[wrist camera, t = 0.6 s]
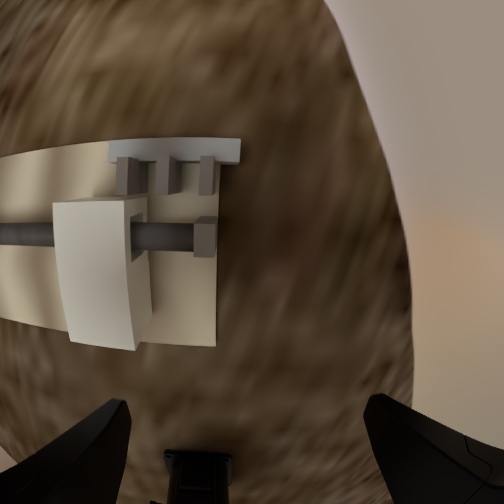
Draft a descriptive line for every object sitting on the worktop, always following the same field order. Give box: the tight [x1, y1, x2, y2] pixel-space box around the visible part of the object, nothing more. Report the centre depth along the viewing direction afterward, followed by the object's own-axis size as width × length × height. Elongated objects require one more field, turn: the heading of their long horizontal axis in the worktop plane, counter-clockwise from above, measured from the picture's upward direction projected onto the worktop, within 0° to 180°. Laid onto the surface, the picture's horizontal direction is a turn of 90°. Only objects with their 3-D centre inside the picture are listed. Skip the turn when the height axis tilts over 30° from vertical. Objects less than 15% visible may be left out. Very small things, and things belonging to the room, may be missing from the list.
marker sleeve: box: [53, 196, 153, 351], centre depth 14 cm, size 4×7×4 cm, turn 177°
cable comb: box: [0, 137, 241, 346], centre depth 14 cm, size 25×13×4 cm, turn 87°
